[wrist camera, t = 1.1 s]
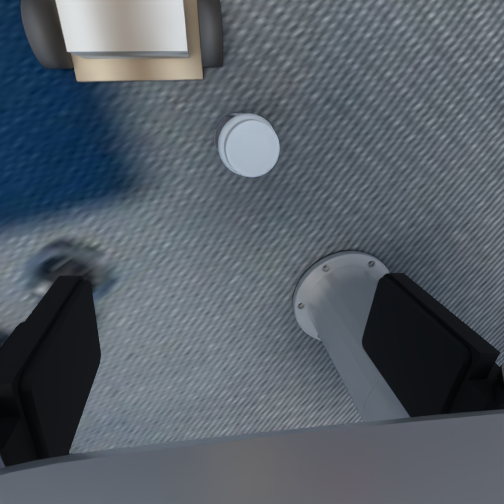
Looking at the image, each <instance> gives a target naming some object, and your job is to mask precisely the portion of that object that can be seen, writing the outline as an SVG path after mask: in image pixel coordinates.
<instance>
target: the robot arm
mask: <svg viewBox="0 0 504 504" xmlns="http://www.w3.org/2000/svg"><path fill="white" fill-rule="evenodd" d="M293 312H294V315H295V317H296V320H297V322H298V324H299V326H300V327H301V328H302V330H303V331H304V332H305V333H307V334H308V335H309V336H311V337H313V338H315V339H317V340H321V341H322V343H323V345H324V346H325V348H326V350H327V352H328V354H329V356H330V358H331V360H332V362H333V364H334V365H335V367H336V369H337V371H338V373H339V375H340V377H341V379H342V381H343V382H344V384H345V386H346V388H347V390H348V392H349V394H350V396H351V398H352V400H353V401H354V403H355V405H356V407H357V409H358V411H359V413H360V415H361V417H362V419H363V420H364V422H358V423H348V424H338V425H328V426H318V427H309V428H299V429H289V430H279V431H270V432H260V433H251V434H242V435H232V436H223V437H214V438H204V439H195V440H186V441H177V442H167V443H158V444H150V445H142V446H134V447H126V448H117V449H109V450H101V451H93V452H85V453H77V454H71V455H68V453H69V450H70V447H71V444H72V442H73V439H74V436H75V433H76V430H77V427H78V424H79V422H80V419H81V416H82V413H83V410H84V407H85V404H86V401H87V399H88V396H89V393H90V390H91V387H92V384H93V381H94V378H95V376H96V373H97V370H98V367H99V364H100V358H101V351H100V344H99V337H98V330H97V323H96V316H95V309H94V302H93V295H92V288H91V283H90V281H84V278H83V277H82V276H59V277H58V278H57V280H56V281H55V282H54V284H53V285H52V286H51V288H50V289H49V290H48V292H47V293H46V294H45V295H44V297H43V298H42V299H41V301H40V302H39V303H38V305H37V306H36V307H35V309H34V310H33V311H32V313H31V314H30V315H29V317H28V318H27V319H26V321H25V322H23V323H20V324H19V325H18V326H17V327H16V328H15V330H14V331H13V332H12V334H11V335H10V336H9V337H8V339H7V340H6V341H5V343H4V344H3V345H2V347H1V348H0V504H504V363H502V365H501V367H499V366H498V365H497V364H496V363H495V361H496V359H497V357H498V356H499V354H500V352H499V351H498V350H497V349H495V348H494V347H493V346H492V345H490V344H489V343H488V342H487V341H486V340H484V339H483V338H482V337H481V336H479V335H478V334H477V333H476V332H475V331H473V330H472V329H471V328H470V327H469V326H467V325H466V324H465V323H464V322H462V321H461V320H460V319H459V318H458V317H456V316H455V315H454V314H453V313H451V312H450V311H449V310H448V309H447V308H445V307H444V306H443V305H442V304H440V303H439V302H438V301H437V300H436V299H434V298H433V297H432V296H431V295H430V294H428V293H427V292H426V291H425V290H423V289H422V288H421V287H420V286H419V285H417V284H416V283H415V282H414V281H412V280H411V279H410V278H409V277H408V276H406V275H405V274H403V273H390V272H389V270H388V269H387V268H386V266H385V265H384V264H383V263H382V262H381V261H379V260H378V259H377V258H375V257H374V256H372V255H370V254H367V253H364V252H360V251H344V252H339V253H335V254H332V255H330V256H327V257H325V258H323V259H321V260H320V261H318V262H317V263H315V264H314V265H313V266H312V267H311V268H310V269H308V270H307V271H306V273H305V274H304V275H303V276H302V278H301V279H300V281H299V283H298V285H297V287H296V289H295V292H294V296H293Z"/></svg>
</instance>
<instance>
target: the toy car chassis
mask: <svg viewBox="0 0 504 504" xmlns="http://www.w3.org/2000/svg"><path fill="white" fill-rule="evenodd" d="M21 16H22V21H23V25H24V29H25V33H26V36H27V38H28V41H29V44H30V46H31V48H32V50H33V52H34V54H35V56H36V57H37V59H38V60H39V62H40V63H41V64H42V65H43V66H44V67H45V68H47V69H68V68H73V66H74V70H75V74H76V79H77V81H79V82H117V81H177V80H203V73H202V67H222V66H223V30H222V15H221V5H220V0H21Z"/></svg>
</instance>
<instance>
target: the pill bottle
mask: <svg viewBox="0 0 504 504" xmlns="http://www.w3.org/2000/svg"><path fill="white" fill-rule="evenodd" d="M214 142H215V147H216V150H217V152H218V154H219V156H220V158H221V160H222V162H223V163H224V165H225V166H226V167H227V168H228V169H229V170H231V171H232V172H234V173H236V174H238V175H242V176H247V177H258V176H261V175H263V174H265V173H267V172H268V171H269V170H271V169H272V168H273V166H274V165H275V163H276V162H277V159H278V156H279V150H280V145H279V140H278V137H277V135H276V133H275V131H274V129H273V127H272V126H271V125H270V123H269V122H268V121H267V120H265V119H264V118H262V117H261V116H258V115H256V114H251V113H243V112H236V113H232V114H229V115H227V116H226V117H224V118H223V119H222V120H221V121H220V122H219V124H218V126H217V128H216V130H215V135H214Z"/></svg>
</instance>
